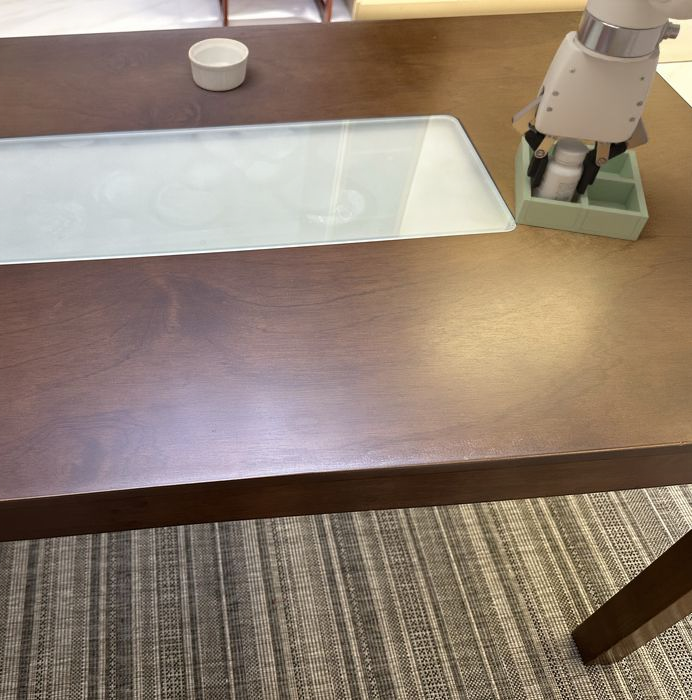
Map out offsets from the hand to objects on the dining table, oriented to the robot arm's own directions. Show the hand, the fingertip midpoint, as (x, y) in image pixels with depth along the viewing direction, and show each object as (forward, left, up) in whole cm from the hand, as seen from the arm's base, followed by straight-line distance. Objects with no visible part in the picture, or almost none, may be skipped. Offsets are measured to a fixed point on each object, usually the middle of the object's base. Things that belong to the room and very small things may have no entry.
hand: (557, 183), depth 85 cm
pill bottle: (0, 0, -3) cm, 3 cm away
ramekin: (+47, -21, -4) cm, 52 cm away
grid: (-3, -3, -4) cm, 6 cm away
